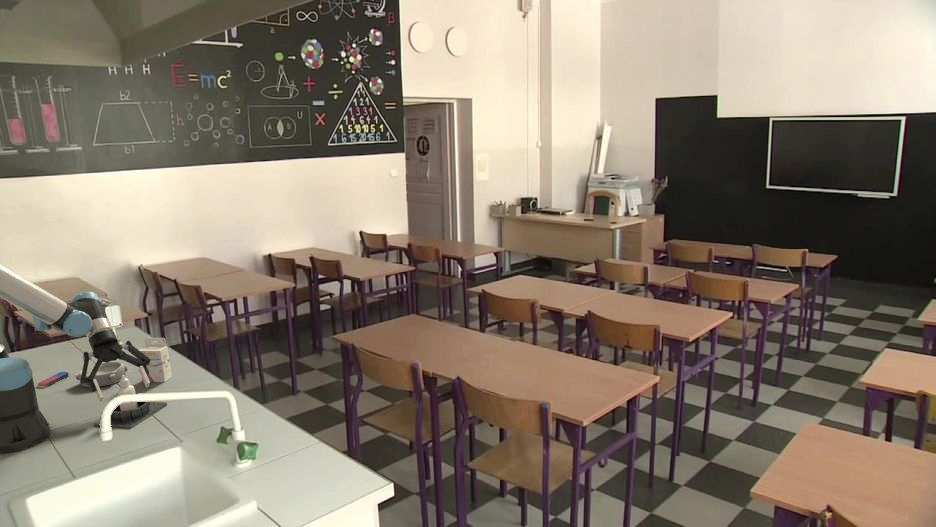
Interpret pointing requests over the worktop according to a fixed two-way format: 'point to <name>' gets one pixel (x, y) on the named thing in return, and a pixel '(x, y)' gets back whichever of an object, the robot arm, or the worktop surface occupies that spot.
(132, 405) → the eye dropper bottle
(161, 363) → the ink cartridge box
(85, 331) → the robot arm
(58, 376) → the eraser
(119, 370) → the dish
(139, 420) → the black ribbed ring plate
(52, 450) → the worktop surface
